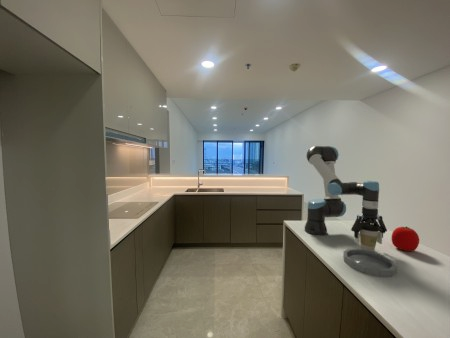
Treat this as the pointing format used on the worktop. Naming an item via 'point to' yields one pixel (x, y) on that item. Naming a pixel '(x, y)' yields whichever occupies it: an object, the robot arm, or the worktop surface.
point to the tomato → (405, 238)
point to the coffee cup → (369, 237)
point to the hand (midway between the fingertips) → (368, 243)
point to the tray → (369, 262)
